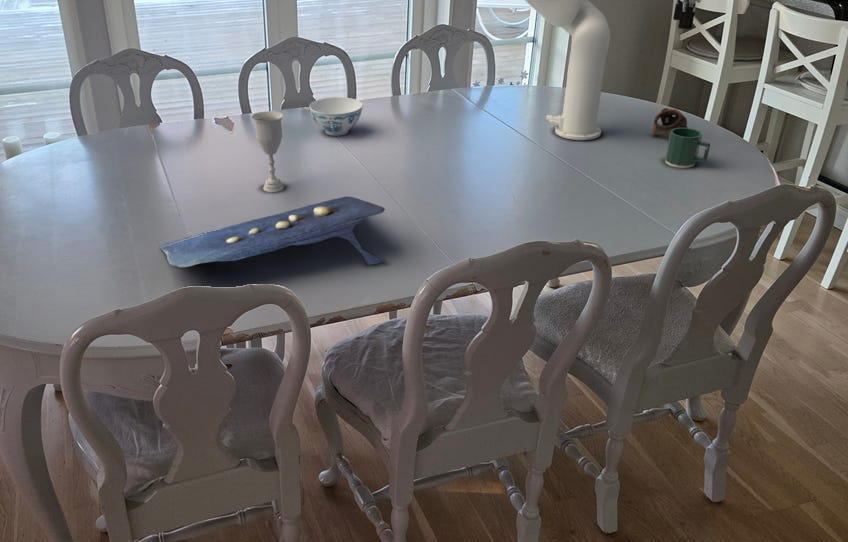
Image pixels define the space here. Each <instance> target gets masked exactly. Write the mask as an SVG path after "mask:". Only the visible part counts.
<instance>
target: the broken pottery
mask: <svg viewBox="0 0 848 542" xmlns="http://www.w3.org/2000/svg"><path fill="white" fill-rule="evenodd" d="M659 119H660V121H661V124H659V123H658V121H659ZM674 128H689V127H688V119H687V117H686V116H685V115H684V114H682V113H681V111H680V110H678V109H674V108H667V107H666V108H663V109H662V110H661V111H660V112H659V113H658V114H656V116H655V117H654V120H653V125H652V130H651V133H652V136H653V137H656V135H659V136H660V135H661V136H667V135H670V131H671V130H672V129H674Z"/></svg>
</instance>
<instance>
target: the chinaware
mask: <svg viewBox="0 0 848 542" xmlns="http://www.w3.org/2000/svg"><path fill="white" fill-rule="evenodd" d="M363 106H364V105H363V103H362V102H361V101H360V100H358V99H356V98H351V97H343V96H341V97H340V96H333V97H325V98H319V99H317V100H314V101H311V103H310V104H309V111H310V114H311V117H312V119H313V121H314V122H315V123H316V125H317V126H318V127H319V128H321V129H322V130H324V131H325V134H327V135H329V136H338V137H339V136H344V135H347V134H348V133H349V131H350V130H351V128H353V127H354V126H355V125H356V124H357V122H358V121H359V119H360V117H361V115H362V111H363Z"/></svg>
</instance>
